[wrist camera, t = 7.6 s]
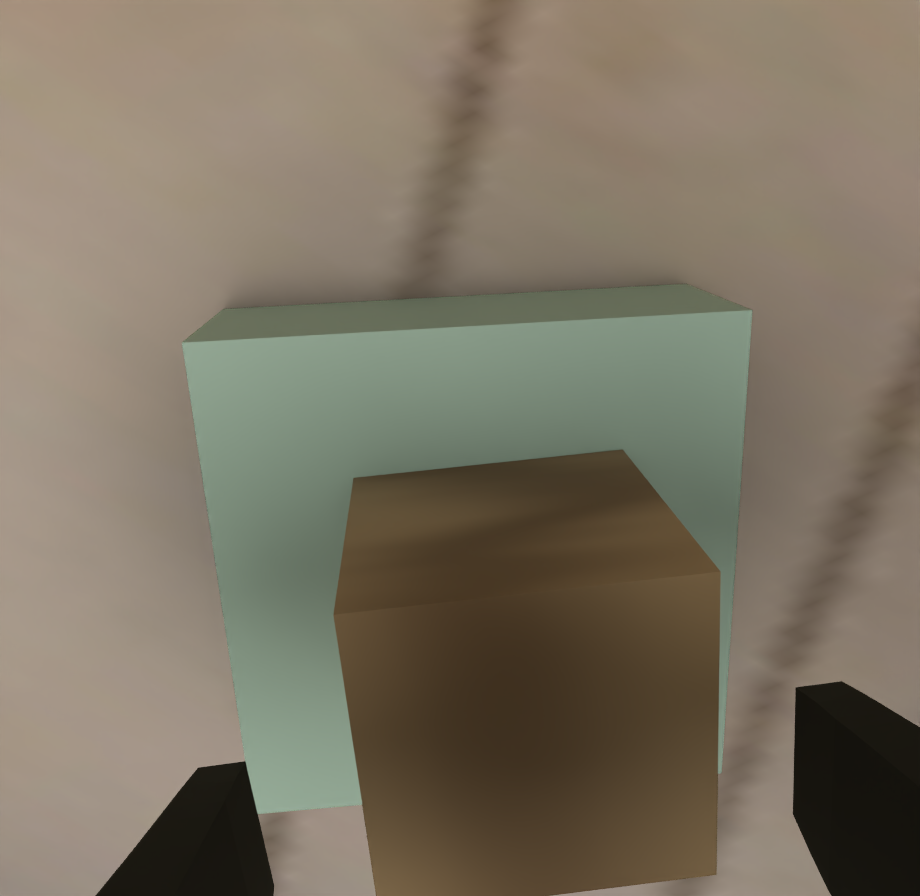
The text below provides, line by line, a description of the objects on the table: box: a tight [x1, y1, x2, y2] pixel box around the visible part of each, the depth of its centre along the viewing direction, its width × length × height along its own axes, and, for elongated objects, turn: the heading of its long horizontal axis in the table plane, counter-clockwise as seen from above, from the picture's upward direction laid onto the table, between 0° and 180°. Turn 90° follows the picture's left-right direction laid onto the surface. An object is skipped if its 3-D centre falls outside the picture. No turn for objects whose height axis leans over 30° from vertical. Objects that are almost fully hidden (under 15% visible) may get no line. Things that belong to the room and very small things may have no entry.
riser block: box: [182, 284, 752, 814], centre depth 18 cm, size 10×10×4 cm
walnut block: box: [333, 450, 721, 896], centre depth 14 cm, size 5×5×5 cm
